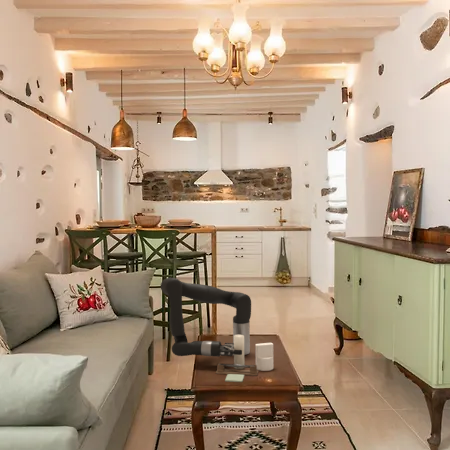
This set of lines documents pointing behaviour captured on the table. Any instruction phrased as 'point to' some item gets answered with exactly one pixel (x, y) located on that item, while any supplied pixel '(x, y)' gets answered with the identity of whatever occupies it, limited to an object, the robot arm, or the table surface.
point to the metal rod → (236, 365)
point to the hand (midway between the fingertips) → (243, 349)
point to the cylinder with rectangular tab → (264, 356)
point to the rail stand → (250, 372)
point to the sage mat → (234, 378)
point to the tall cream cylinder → (239, 346)
